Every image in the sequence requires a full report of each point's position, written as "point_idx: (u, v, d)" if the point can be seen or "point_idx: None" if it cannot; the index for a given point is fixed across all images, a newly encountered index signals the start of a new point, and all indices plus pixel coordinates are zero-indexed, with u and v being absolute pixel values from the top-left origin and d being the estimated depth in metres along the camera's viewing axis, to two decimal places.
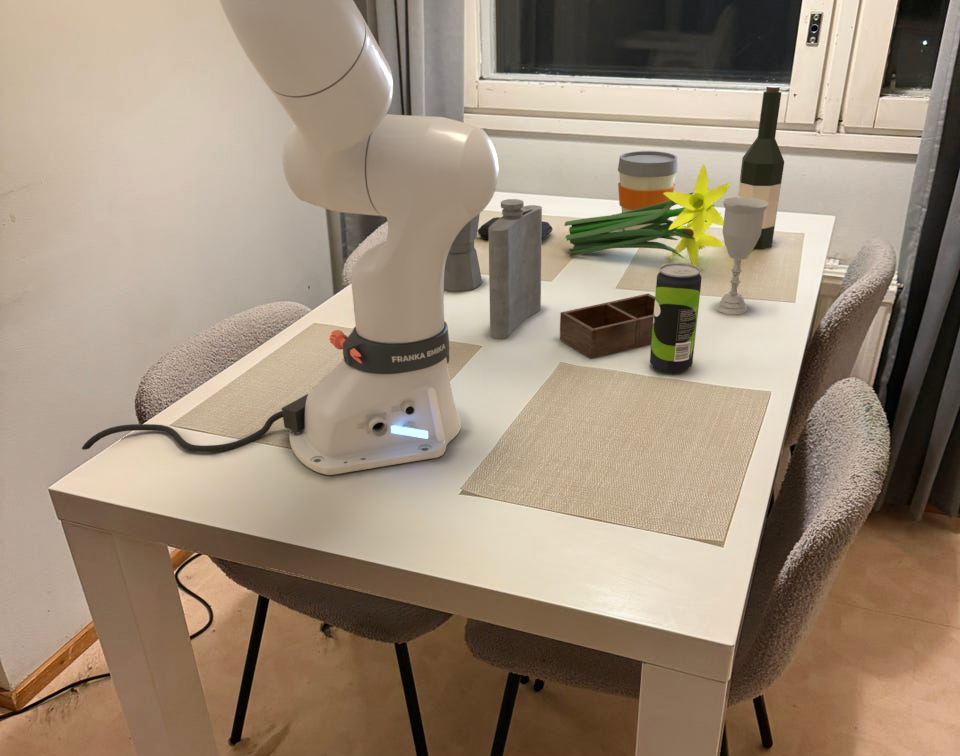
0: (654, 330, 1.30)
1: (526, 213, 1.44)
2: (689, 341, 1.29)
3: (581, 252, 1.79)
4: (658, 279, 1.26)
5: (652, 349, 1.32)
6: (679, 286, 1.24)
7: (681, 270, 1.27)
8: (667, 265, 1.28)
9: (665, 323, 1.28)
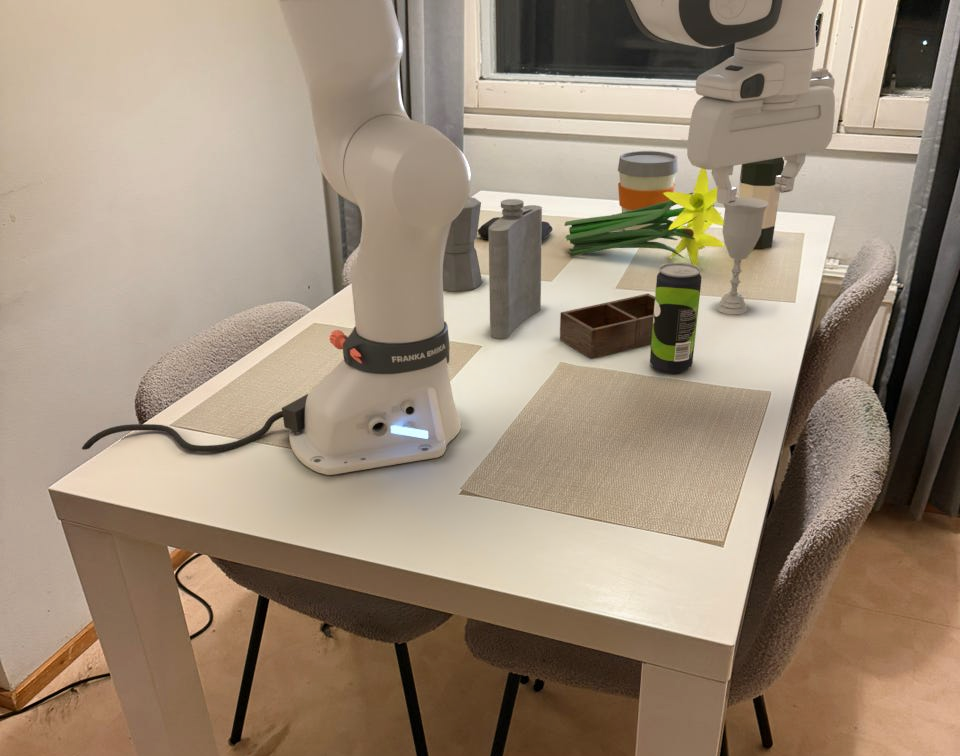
0: (654, 330, 1.30)
1: (526, 213, 1.44)
2: (689, 341, 1.29)
3: (581, 252, 1.79)
4: (658, 279, 1.26)
5: (652, 349, 1.32)
6: (679, 286, 1.24)
7: (681, 270, 1.27)
8: (667, 265, 1.28)
9: (665, 323, 1.28)
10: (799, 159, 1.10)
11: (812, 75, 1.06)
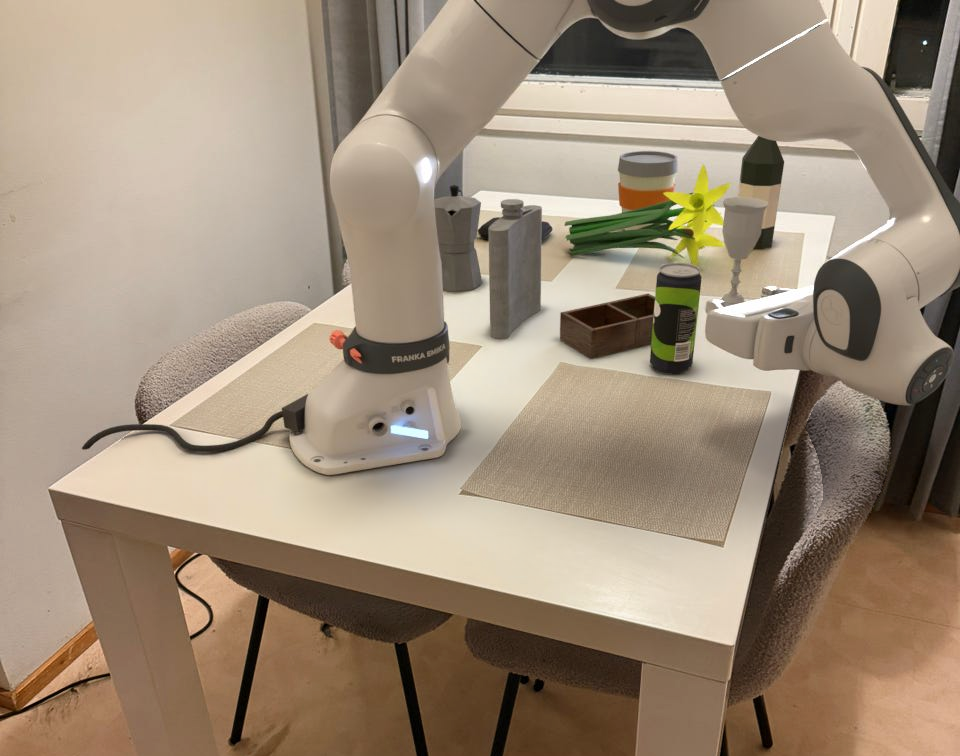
0: (654, 330, 1.30)
1: (526, 213, 1.44)
2: (689, 341, 1.29)
3: (581, 252, 1.79)
4: (658, 279, 1.26)
5: (652, 349, 1.32)
6: (679, 286, 1.24)
7: (681, 270, 1.27)
8: (667, 265, 1.28)
9: (665, 323, 1.28)
10: None
11: None
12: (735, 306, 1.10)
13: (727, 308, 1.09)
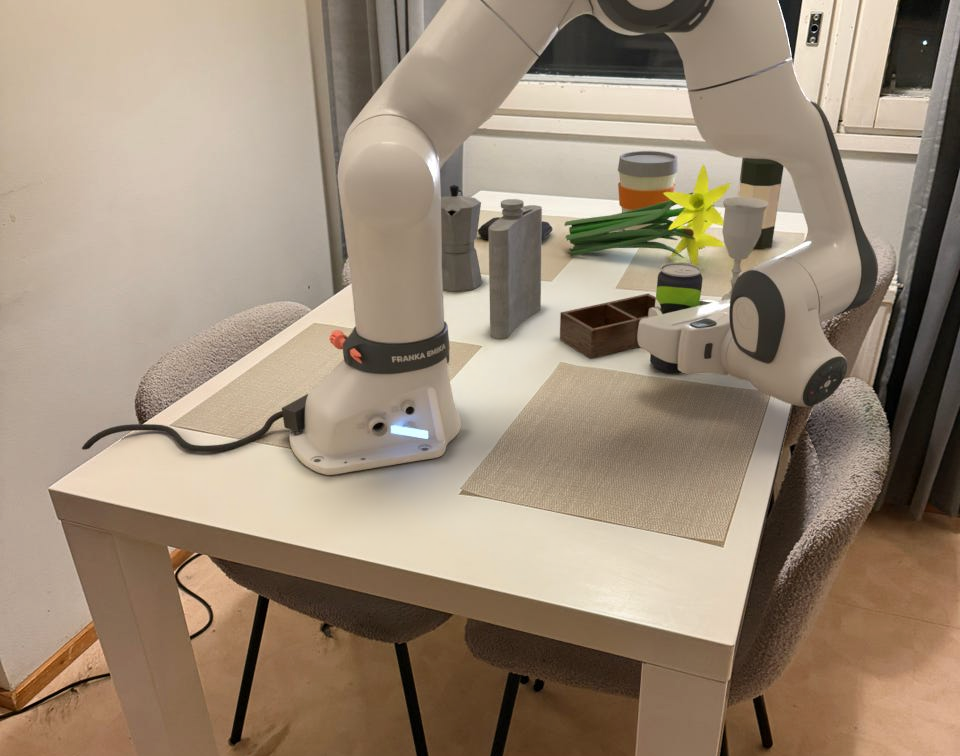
0: None
1: (526, 213, 1.44)
2: None
3: (581, 252, 1.79)
4: (659, 278, 1.26)
5: None
6: (680, 285, 1.24)
7: (682, 270, 1.27)
8: (668, 265, 1.28)
9: None
10: None
11: None
12: (664, 315, 1.22)
13: (657, 317, 1.22)
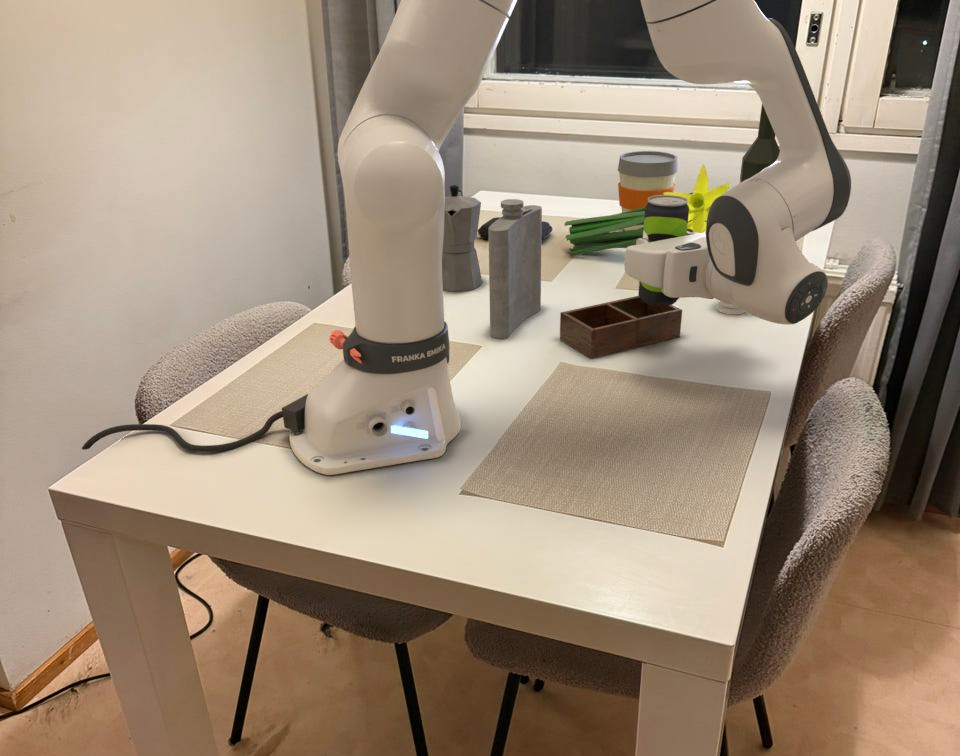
0: None
1: (526, 213, 1.44)
2: None
3: (581, 252, 1.79)
4: (646, 209, 1.29)
5: None
6: (667, 215, 1.27)
7: (669, 201, 1.29)
8: (655, 197, 1.31)
9: None
10: None
11: None
12: (651, 243, 1.25)
13: (643, 244, 1.24)
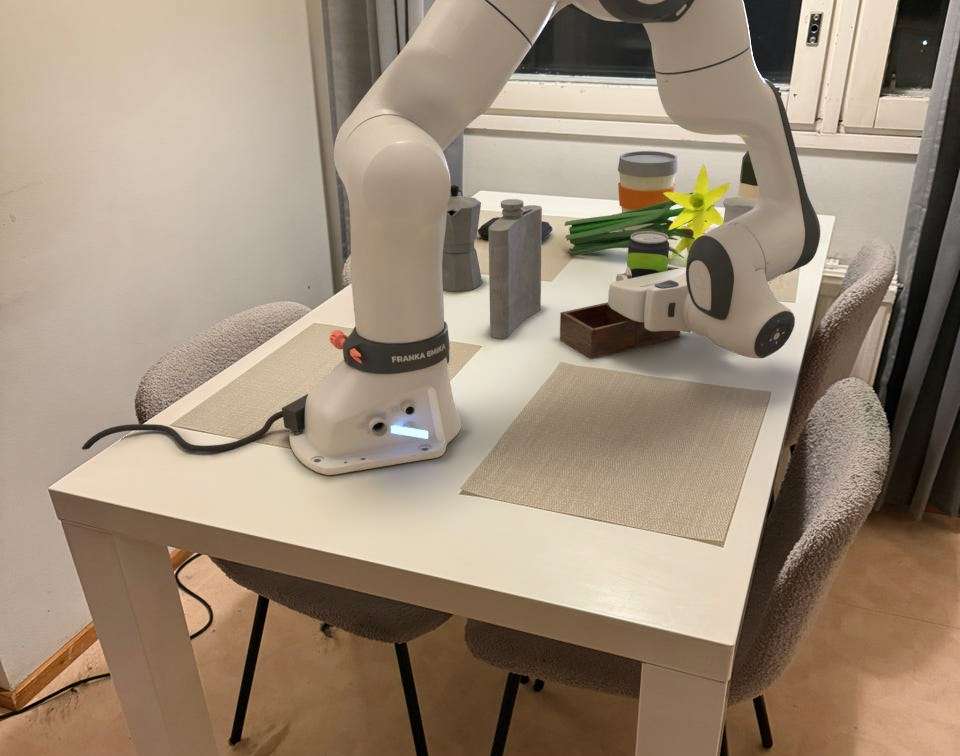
0: None
1: (526, 213, 1.44)
2: None
3: (581, 252, 1.79)
4: (629, 245, 1.38)
5: None
6: (648, 251, 1.35)
7: (650, 237, 1.38)
8: (638, 233, 1.39)
9: None
10: None
11: None
12: (633, 279, 1.34)
13: (626, 280, 1.33)
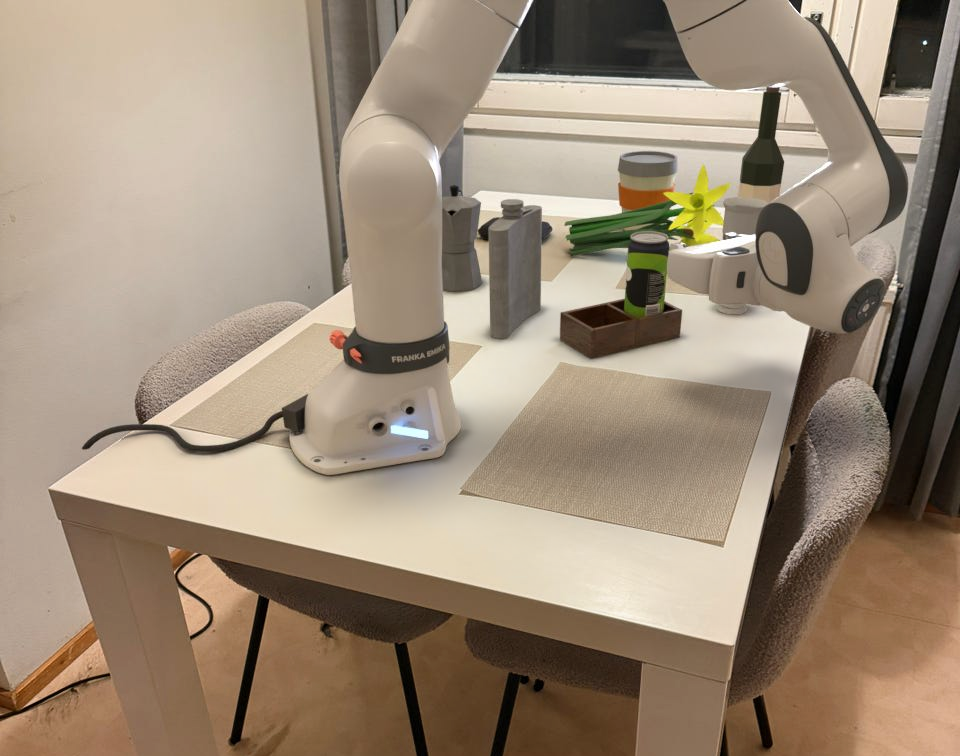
0: (626, 293, 1.41)
1: (526, 213, 1.44)
2: (658, 303, 1.40)
3: (581, 252, 1.79)
4: (629, 246, 1.38)
5: (625, 311, 1.43)
6: (648, 251, 1.35)
7: (650, 237, 1.38)
8: (638, 233, 1.39)
9: (636, 287, 1.39)
10: None
11: None
12: (694, 247, 1.19)
13: (687, 248, 1.19)
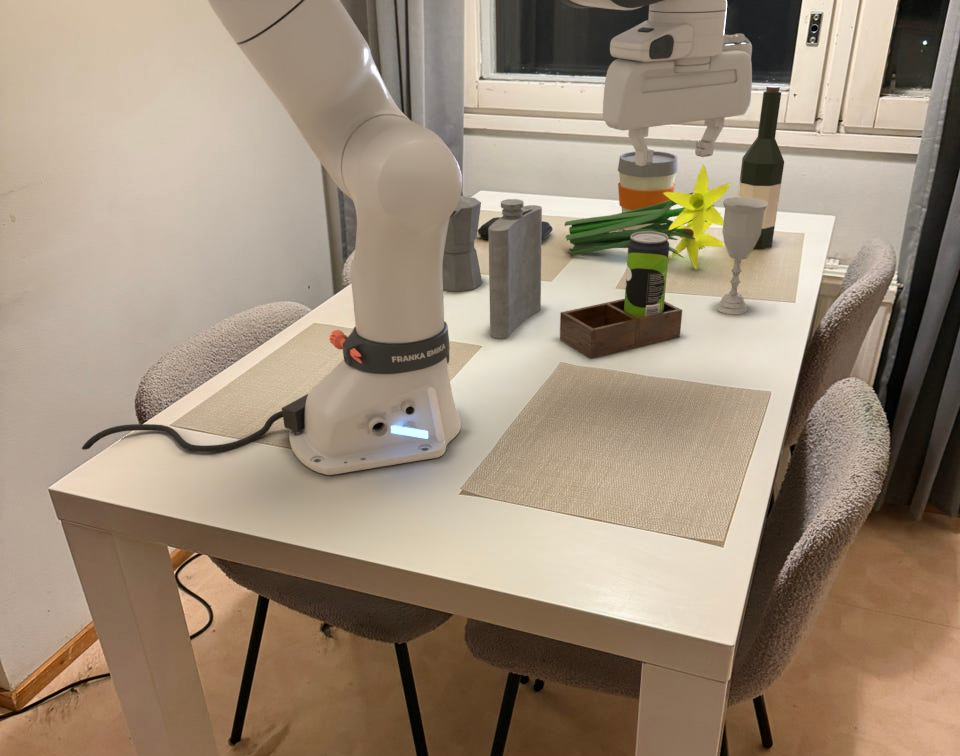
0: (626, 293, 1.41)
1: (526, 213, 1.44)
2: (658, 303, 1.40)
3: (581, 252, 1.79)
4: (629, 245, 1.38)
5: (625, 311, 1.43)
6: (648, 251, 1.35)
7: (650, 237, 1.38)
8: (638, 233, 1.39)
9: (636, 287, 1.39)
10: (718, 123, 1.12)
11: (728, 40, 1.08)
12: None
13: None
